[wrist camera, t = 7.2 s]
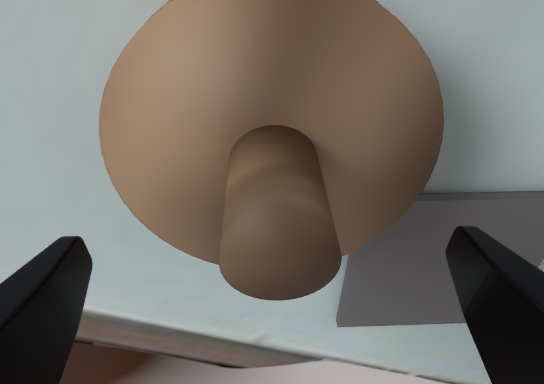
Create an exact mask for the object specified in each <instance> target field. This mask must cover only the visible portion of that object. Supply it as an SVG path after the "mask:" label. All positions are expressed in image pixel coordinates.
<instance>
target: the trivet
mask: <svg viewBox="0 0 544 384" xmlns="http://www.w3.org/2000/svg"><path fill="white" fill-rule="evenodd" d="M466 225H473V226H476V227H478V228H479V229H481V230H482V231H484V232H485V233H487V234H488V235H490V236H491V237H493V238H494V239H496V240H497V241H499V242H500V243H502V244H503V245H505V246H506V247H508V248H509V249H510V250H512V251H513V252H515V253H516V254H518V255H519V256H521V257H522V258H524V259H525V260H527V261H528V262H530V263H531V264H533V265H534V266H536V267H538V265H539V264H540V263H541V261H542V260H543V258H544V191H528V192H485V193H442V194H420V195H419V197H418V198H417V199H416V201H415V202H414V203H413V205H412V206H411V207H410V208H409V209H408V211H407V212H406V213H405V214H404V215H403V216H402V217H401V218H400V219H399V220H398V221H397V222H396V223H395V224H393V225H392V226H391V227H390V228H389V229H388V230H386V231H385V232H384V233H383V234H381V235H380V236H378V237H377V238H375V239H374V240H372V241H371V242H369V243H368V244H366V245H364V246H362V247H360V248H359V249H357V250H355V251H353V252H350V253H349V258H348V263H347V268H346V273H345V278H344V283H343V288H342V293H341V298H340V303H339V308H338V313H337V318H336V322H337V327H358V326H388V325H417V324H447V323H466V321H465V318H464V316H463V313H462V310H461V307H460V304H459V300H458V297H457V293H456V290H455V287H454V283H453V280H452V277H451V273H450V270H449V267H448V263H447V260H446V255H445V251H446V247H447V245H448V242H449V240H450V238H451V236H452V233H453V231H454V229H455V228H456V227H457V226H466Z"/></svg>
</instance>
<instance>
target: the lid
mask: <svg viewBox="0 0 544 384" xmlns="http://www.w3.org/2000/svg"><path fill="white" fill-rule="evenodd" d="M443 125H444V117H443V101H442V97H441V92H440V87H439V83H438V80H437V77H436V75H435V72H434V70H433V67H432V65H431V62H430V60H429V59H428V57H427V55H426V54H425V52H424V50H423V49H422V47H421V46H420V44H419V42H418V41H417V40H416V38H415V37H414V36H413V35H412V34H411V33H410V32H409V31H408V29H407V28H406V27H405V26H404V25H403V24H402V23H401V22H400V21H399V20H398V19H397V18H396V17H395V16H393V15H392V14H391V13H390V12H389V11H388V10H386V9H385V8H384V7H383V6H381V5H380V4H379V3H378V2H377V1H375V0H170V1H168V2H167V3H166V4H165V5H164V6H163V7H161V8H160V9H159V10H158V11H157V12H156V13H154V14H153V15H152V16H151V17H150V18H149V19H148V20H147V22H146V23H145V24H144V25H143V26H142V27H141V29H140V30H139V31H138V32H137V33H136V34H135V36H134V37H133V38H132V39H131V40H130V42H129V43H128V44H127V45H126V46H125V48H124V49H123V51H122V53H121V54H120V56H119V58H118V59H117V61H116V63H115V64H114V66H113V68H112V70H111V73H110V75H109V78H108V81H107V83H106V86H105V88H104V92H103V97H102V102H101V107H100V116H99V136H100V145H101V152H102V155H103V159H104V163H105V166H106V170H107V172H108V174H109V176H110V179H111V181H112V183H113V185H114V187H115V189H116V191H117V192H118V194H119V196H120V197H121V199H122V200H123V202H124V203H125V204H126V206H127V207H128V208H129V209H130V211H131V212H132V213H133V214H134V216H135V217H136V218H137V219H138V220H139V221H140V222H142V223H143V224H144V225H145V226H146V227H147V228H148V229H149V230H150V231H152V232H153V233H154V234H155V235H157V236H158V237H159V238H161V239H162V240H164V241H165V242H167V243H169V244H170V245H172V246H173V247H175V248H177V249H179V250H181V251H183V252H185V253H187V254H189V255H191V256H194V257H196V258H199V259H202V260H205V261H207V262H211V263H214V264H218V265H219V267H220V271H221V273H222V275H223V277H224V279H225V280H226V281H227V282H228V283H229V284H230V285H231V286H232V287H233V288H234V289H236V290H238V291H239V292H241V293H243V294H245V295H248V296H251V297H254V298H258V299H264V300H289V299H295V298H300V297H303V296H306V295H309V294H311V293H314V292H316V291H318V290H320V289H321V288H323V287H324V286H326V285H327V284H328V283H329V282H330V281H331V280H332V279H333V278H334V277H335V275H336V274H337V272H338V270H339V268H340V265H341V259H342V256H344V255H346V254H348V253H350V252H353V251H355V250H357V249H359V248H360V247H362V246H364V245H366V244H368V243H369V242H371V241H372V240H374V239H375V238H377V237H378V236H380V235H381V234H383V233H384V232H385V231H386V230H388V229H389V228H390V227H391V226H392V225H393V224H395V223H396V222H397V221H398V220H399V219H400V218H401V217H402V216H403V215H404V214H405V213H406V212H407V211H408V209H409V208H410V207H411V206H412V205H413V203H414V202H415V201H416V199H417V198H418V197H419V195H420V194H421V192H422V191H423V189H424V187H425V185H426V184H427V182H428V180H429V178H430V176H431V174H432V171H433V169H434V166H435V164H436V162H437V159H438V155H439V151H440V147H441V143H442V135H443Z"/></svg>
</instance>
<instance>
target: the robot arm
mask: <svg viewBox="0 0 544 384" xmlns="http://www.w3.org/2000/svg"><path fill="white" fill-rule="evenodd" d="M445 255H446V260H447V263H448V267H449V270H450V273H451V277H452V280H453V283H454V287H455V290H456V293H457V297H458V300H459V304H460V307H461V310H462V313H463V316H464V318H465V321H466V323H467V326H468V328H469V330H470V333H471V335H472V337H473V340H474V342H475V345H476V347H477V349H478V352H479V354H480V356H481V359H482V361H483V364H484V366H485V368H486V371H487V373H488V375H489V378H490V380H491V382H492V384H544V272H543V271H542V270H540V269H539V268H537V267H536V266H534V265H533V264H531V263H530V262H528V261H527V260H525V259H524V258H522V257H521V256H519V255H518V254H516V253H515V252H513V251H512V250H510V249H509V248H508V247H506V246H505V245H503V244H502V243H500V242H499V241H497V240H496V239H494V238H493V237H491V236H490V235H488V234H487V233H485V232H484V231H482V230H481V229H479V228H478V227H476V226H473V225H466V226H457V227H456V228H455V229H454V231H453V233H452V236H451V238H450V240H449V242H448V245H447V247H446V251H445ZM91 271H92V258H91V256H90V254H89V252H88V249H87V247H86V245H85V243H84V241H83V239H82V238H81V237H79V236H64V237H61V238H59V239H57V240H56V241H55V242H54V243H52V244H51V245H50V246H48V247H47V248H46V249H45V250H43V251H42V252H41V253H39V254H38V255H37V256H35V257H34V258H33V259H32V260H30V261H29V262H28V263H26V264H25V265H24V266H23V267H21V268H20V269H19V270H17V271H16V272H15V273H14V274H12V275H11V276H10V277H8V278H7V279H6V280H5V281H3V282H2V283H1V284H0V384H59V383H60V380H61V377H62V374H63V371H64V369H65V366H66V363H67V360H68V357H69V354H70V351H71V348H72V346H73V343H74V340H75V337H76V334H77V331H78V328H79V324H80V320H81V316H82V311H83V307H84V302H85V298H86V294H87V289H88V285H89V280H90V276H91Z"/></svg>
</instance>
